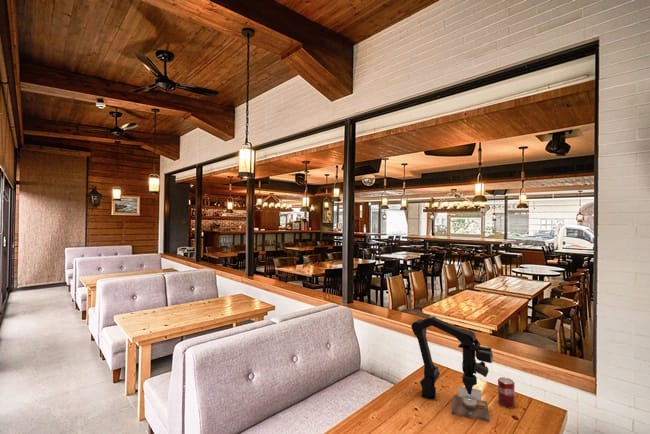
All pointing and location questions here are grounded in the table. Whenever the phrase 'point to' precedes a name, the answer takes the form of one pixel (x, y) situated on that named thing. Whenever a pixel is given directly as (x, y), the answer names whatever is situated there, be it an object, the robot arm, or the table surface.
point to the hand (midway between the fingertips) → (469, 389)
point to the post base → (475, 414)
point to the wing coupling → (470, 398)
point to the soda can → (506, 392)
